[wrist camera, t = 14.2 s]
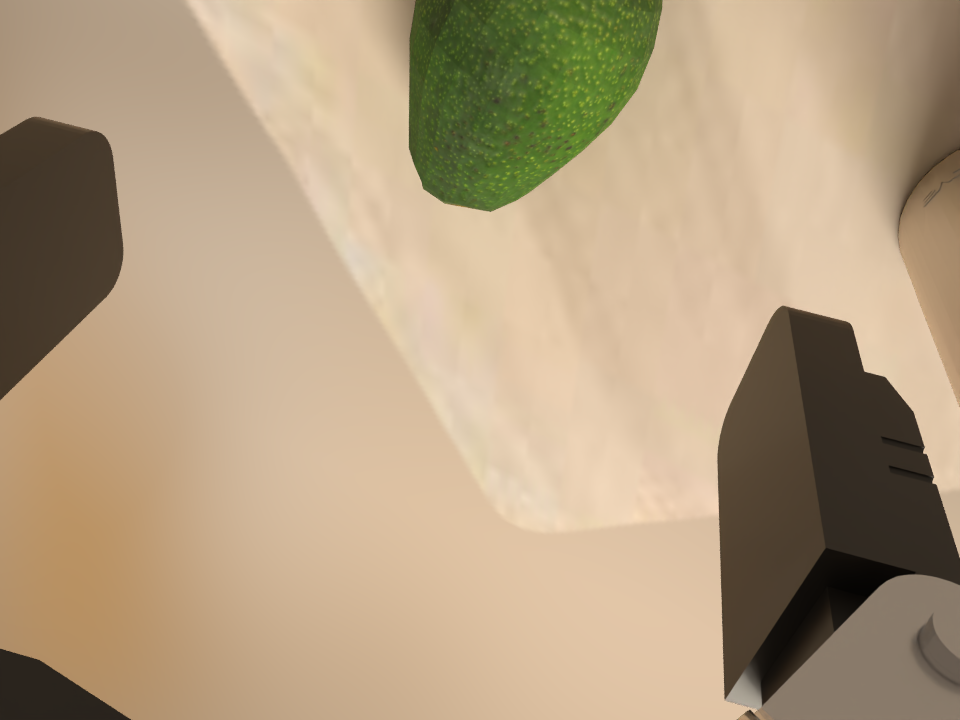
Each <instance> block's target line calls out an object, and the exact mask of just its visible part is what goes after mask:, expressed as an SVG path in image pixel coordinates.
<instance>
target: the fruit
mask: <svg viewBox="0 0 960 720" xmlns="http://www.w3.org/2000/svg"><path fill="white" fill-rule="evenodd" d="M661 11H662V0H416V4H415V10H414V16H413V22H412V28H411V34H410V85H409V150H410V153H411V156H412V159H413V162H414V165H415V168H416V170H417V172H418V174H419V177H420V179H421V181H422V186H423V189H424V190H426V191H427V192H429V193H430V194H432V195H433V196H435V197H436V198H437V199H439V200H440V201H442V202H443V203H445V204H450V205H456V206H461V207H467V208H473V209H478V210H484V211H490V212H491V211H493V210H496V209H498V208H500V207H502V206H505V205H507V204H509V203H511V202H514V201H516V200H518V199H519V198H521V197H523V196H524V195H526V194H527V193H529V192H530V191H532V190H533V189H534V188H536V187H537V186H538V185H540V184H541V183H542V182H544V181H545V180H546V179H548V178H549V177H550V176H552V175H553V174H554V173H555V172H557V171H558V170H559V169H560V168H562V167H563V166H564V165H565V164H567V163H568V162H569V161H570V160H572V159H573V158H574V157H575V156H577V155H578V154H579V153H580V152H582V151H583V150H584V149H585V148H586V147H587V146H588V145H589V144H590V143H591V142H592V141H593V140H595V139H596V138H597V137H598V136H599V135H600V134H601V133H602V132H603V131H604V130H605V129H606V128H607V127H608V126H610V125H611V124H612V122H613V121H614V120H615V118H616V117H617V116H618V114H619V113H620V111H621V110H622V109H623V107H624V106H625V105H626V103H627V102H628V101H629V99H630V98H631V97H632V95H633V94H634V93H635V91H636V90H637V88H638V86H639V83H640V81H641V78H642V76H643V73H644V71H645V69H646V66H647V64H648V61H649V59H650V56H651V54H652V51H653V49H654V45H655V40H656V35H657V30H658V25H659V20H660V16H661Z"/></svg>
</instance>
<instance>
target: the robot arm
mask: <svg viewBox="0 0 960 720" xmlns="http://www.w3.org/2000/svg"><path fill="white" fill-rule="evenodd" d="M898 239H899V246H900V252H901V255H902V258H903V260H904V263H905V265H906V268H907V271H908V273H909V276H910V279H911V281H912V284H913V286H914V289H915V292H916V295H917V298H918V301H919V303H920V306H921V308H922V311H923V314H924V316H925V319H926V321H927V324H928V327H929V329H930V332H931V334H932V337H933V340H934V342H935V345H936V347H937V350H938V352H939V355H940V358H941V360H942V363H943V365H944V368H945V371H946V373H947V376H948V378H949V381H950V384H951V386H952V389H953V391H954V394H955V396H956V399H957V402H958V404H959V407H960V149H959V150H958V151H956V152H954V153H952V154H951V155H949V156H948V157H947V158H945V159H944V160H943V161H941V162H940V163H938V164H937V165H936V166H934V167H933V168H932V169H931V170H930V171H929V172H928V173H927V175H926V176H925V177H924V178H923V179H922V180H921V181H920V182H919V183H918V184H917V186H916V187H915V189H914V190H913V192H912V194H911V195H910V197H909V198H908V200H907V202H906V204H905V207H904V210H903V212H902V215H901V218H900V224H899V232H898ZM122 261H123V241H122V233H121V224H120V215H119V206H118V197H117V189H116V179H115V171H114V162H113V155H112V150H111V147H110V144H109V142H108V140H107V139H106V137H105V136H104V135H102V134H101V133H99V132H97V131H93V130H89V129H85V128H81V127H76V126H72V125H69V124H65V123H61V122H57V121H53V120H49V119H45V118H41V117H32V118H29V119H27V120H25V121H23V122H22V123H20V124H18V125H17V126H15V127H13V128H11V129H10V130H8V131H6V132H5V133H3V134H1V135H0V400H1V399H2V398H3V397H4V396H5V395H6V394H7V393H8V392H9V391H10V390H11V389H12V388H13V387H14V386H15V385H16V384H17V383H18V382H19V381H20V380H21V379H22V378H23V377H24V376H25V375H26V374H28V373H29V372H30V371H31V370H32V368H33V367H35V366H36V365H37V364H38V363H39V362H40V361H41V360H42V359H43V358H44V357H45V356H46V355H47V354H48V353H49V352H50V351H51V350H52V349H53V348H54V347H55V346H56V345H57V344H58V343H59V342H60V341H61V340H62V339H63V338H64V337H65V336H66V335H68V334H69V333H70V332H71V331H72V330H73V329H74V328H75V327H76V326H77V325H78V324H79V323H80V322H81V321H82V320H83V319H84V318H85V317H86V316H87V315H88V314H89V313H90V312H91V311H92V310H93V309H94V308H95V307H96V306H97V305H98V304H99V303H100V302H101V301H103V299H104V298H106V297H107V295H108V294H109V293H110V292H111V290H112V289H113V287H114V285H115V283H116V281H117V279H118V276H119V273H120V270H121V266H122ZM924 448H925V447H924V444H923V441H922V437H921V434H920V431H919V428H918V425H917V422H916V418H915V415H914V412H913V411H912V410H911V408H910V407H909V406H908V405H907V403H906V402H905V401H904V400H903V399H902V397H901V396H900V395H899V394H898V392H897V391H896V390H895V389H894V387H893V386H892V385H891V384H890V383H889V381H888V380H887V379H886V378H885V377H883V376H879V375H875V374H871V373H867V372H864V369H863V365H862V362H861V358H860V354H859V350H858V346H857V342H856V338H855V335H854V331H853V328H852V326H851V324H850V323H848V322H846V321H842V320H838V319H834V318H830V317H826V316H822V315H818V314H814V313H810V312H806V311H802V310H798V309H794V308H790V307H786V306H781V307H780V308H778V309H777V310H776V312H775V313H774V314H773V316H772V318H771V319H770V321H769V323H768V325H767V327H766V329H765V332H764V334H763V336H762V338H761V340H760V342H759V344H758V346H757V349H756V351H755V353H754V355H753V357H752V359H751V361H750V363H749V366H748V368H747V370H746V372H745V374H744V376H743V378H742V380H741V383H740V385H739V387H738V389H737V391H736V393H735V395H734V397H733V399H732V402H731V404H730V406H729V408H728V411H727V414H726V416H725V419H724V423H723V426H722V430H721V434H720V440H719V446H718V493H719V525H720V558H721V592H722V624H723V625H722V626H723V659H724V691H725V693H724V694H725V701H728V702H732V703H735V704H739V705H743V706H746V707H750V708H754V709H757V710H758V711H756V712H755V713H753V712H752V711H751V710H749V711H747V712H745V713H744V714H743V715H742V716H740V717H739V718H738V719H737V720H960V558H959V554H958V551H957V548H956V545H955V542H954V538H953V536H952V532H951V529H950V526H949V523H948V520H947V516H946V513H945V510H944V507H943V504H942V501H941V498H940V494H939V491H938V488H937V485H936V484H932V481H933V478H934V475H933V472H932V469H931V466H930V463H929V459H928V456H927V454H923V450H924ZM0 720H131V719H129V718H127V717H126V716H124V715H123V714H121V713H120V712H118V711H117V710H115V709H114V708H112V707H111V706H109V705H107V704H106V703H105V702H103V701H101V700H100V699H98V698H97V697H95V696H94V695H92V694H90V693H89V692H88V691H86V690H84V689H83V688H81V687H80V686H78V685H76V684H75V683H74V682H72V681H70V680H69V679H68V678H66V677H64V676H63V675H61V674H60V673H58V672H57V671H55V670H53V669H52V668H51V667H49V666H48V665H46V664H45V663H43V662H42V661H40V660H37V659H34V658H30V657H27V656H23V655H20V654H16V653H13V652H10V651H6V650H3V649H0Z"/></svg>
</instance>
